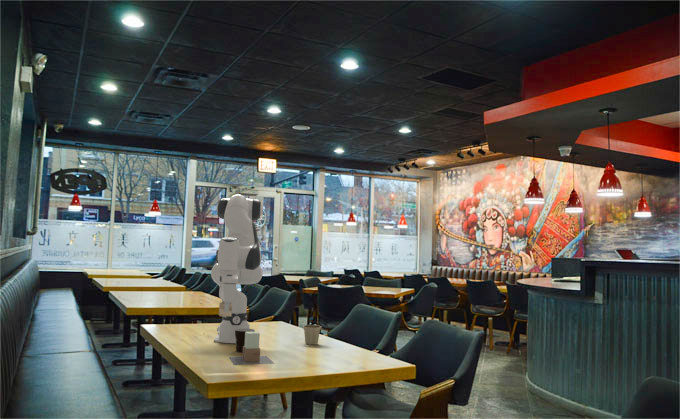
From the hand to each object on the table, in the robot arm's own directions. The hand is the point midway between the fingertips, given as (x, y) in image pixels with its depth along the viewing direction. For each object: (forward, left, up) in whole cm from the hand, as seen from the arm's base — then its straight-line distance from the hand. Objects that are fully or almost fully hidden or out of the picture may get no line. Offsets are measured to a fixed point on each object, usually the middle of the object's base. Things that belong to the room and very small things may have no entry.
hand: (225, 311), depth 213 cm
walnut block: (+2, +11, -19) cm, 22 cm away
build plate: (+2, +11, -20) cm, 23 cm away
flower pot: (-37, +48, -20) cm, 64 cm away
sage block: (+2, +11, -14) cm, 18 cm away
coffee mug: (-19, +12, -20) cm, 30 cm away
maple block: (0, 0, -2) cm, 2 cm away
